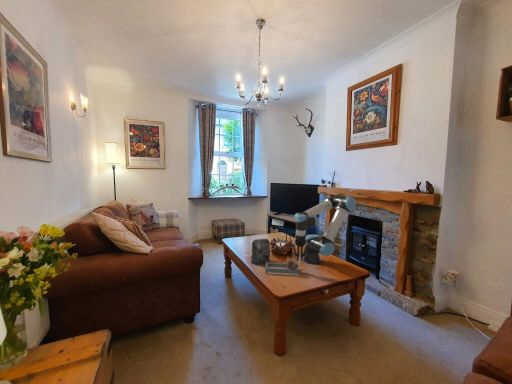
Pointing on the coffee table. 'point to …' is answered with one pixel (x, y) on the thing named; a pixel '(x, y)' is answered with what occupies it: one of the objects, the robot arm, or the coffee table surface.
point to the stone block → (260, 251)
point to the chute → (280, 269)
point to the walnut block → (290, 263)
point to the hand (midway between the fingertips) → (299, 264)
